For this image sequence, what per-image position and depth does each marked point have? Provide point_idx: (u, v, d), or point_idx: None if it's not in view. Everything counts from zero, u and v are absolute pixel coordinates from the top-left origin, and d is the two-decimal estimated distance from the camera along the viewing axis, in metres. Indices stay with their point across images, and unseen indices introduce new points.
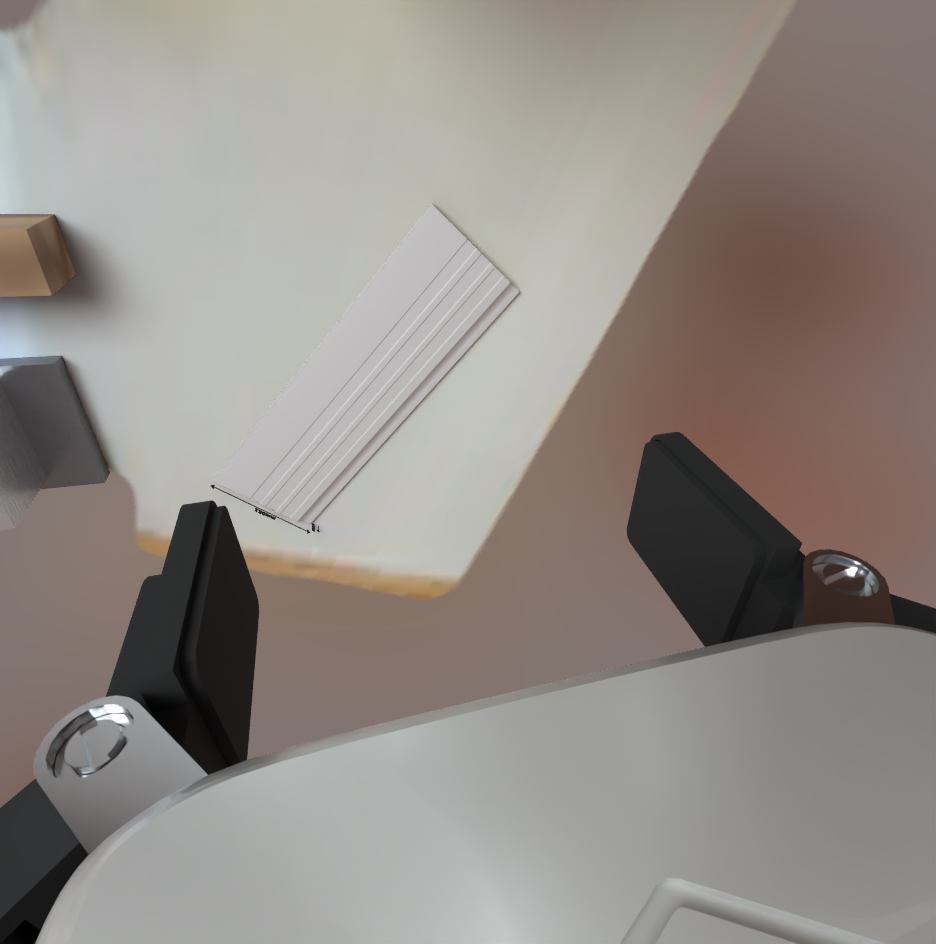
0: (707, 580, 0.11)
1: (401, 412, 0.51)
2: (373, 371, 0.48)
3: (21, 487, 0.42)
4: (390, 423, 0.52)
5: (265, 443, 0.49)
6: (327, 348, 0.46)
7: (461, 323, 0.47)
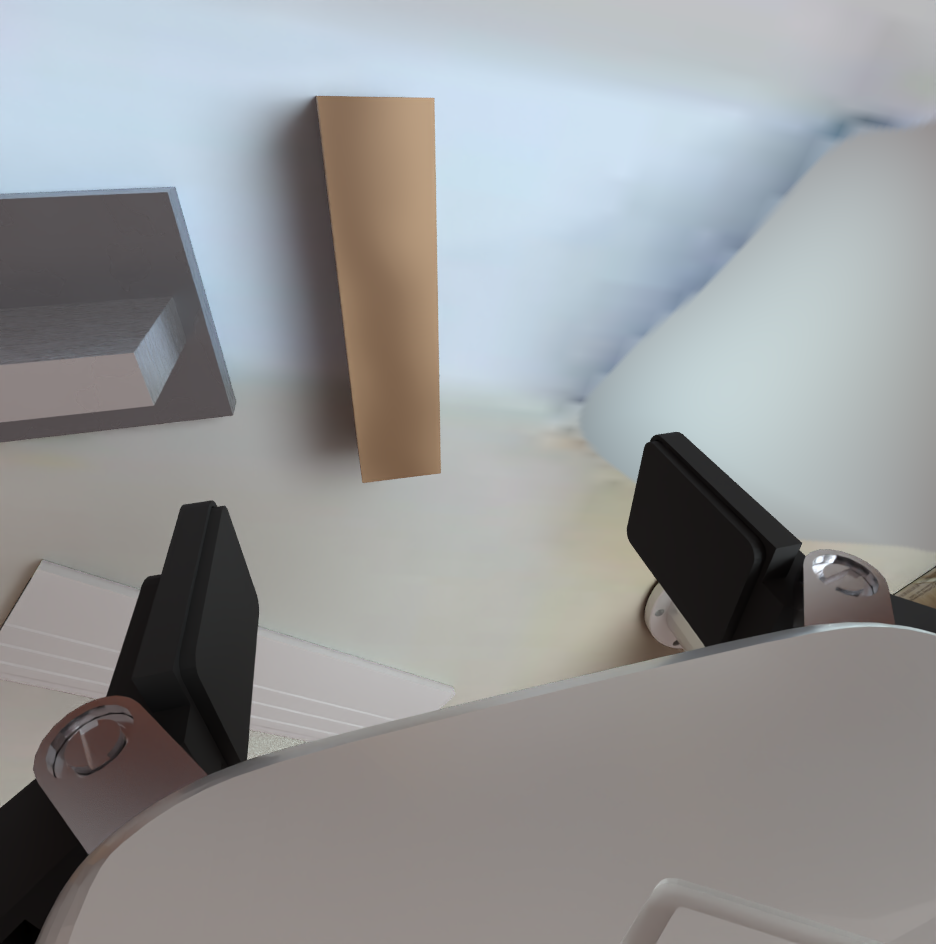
0: (707, 580, 0.11)
1: None
2: (279, 692, 0.41)
3: None
4: None
5: None
6: (302, 655, 0.39)
7: None
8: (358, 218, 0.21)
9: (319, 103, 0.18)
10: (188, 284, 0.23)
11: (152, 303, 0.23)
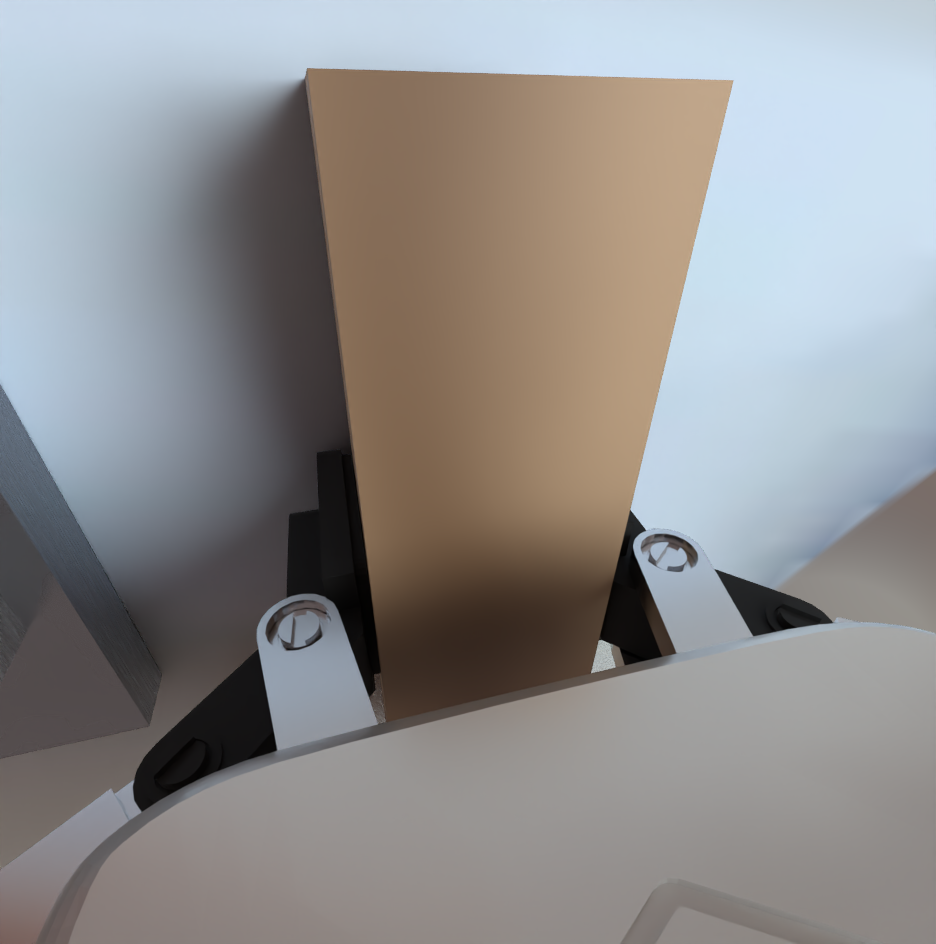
0: None
1: None
2: None
3: None
4: None
5: None
6: None
7: None
8: (436, 448, 0.07)
9: (317, 99, 0.05)
10: (11, 535, 0.10)
11: None
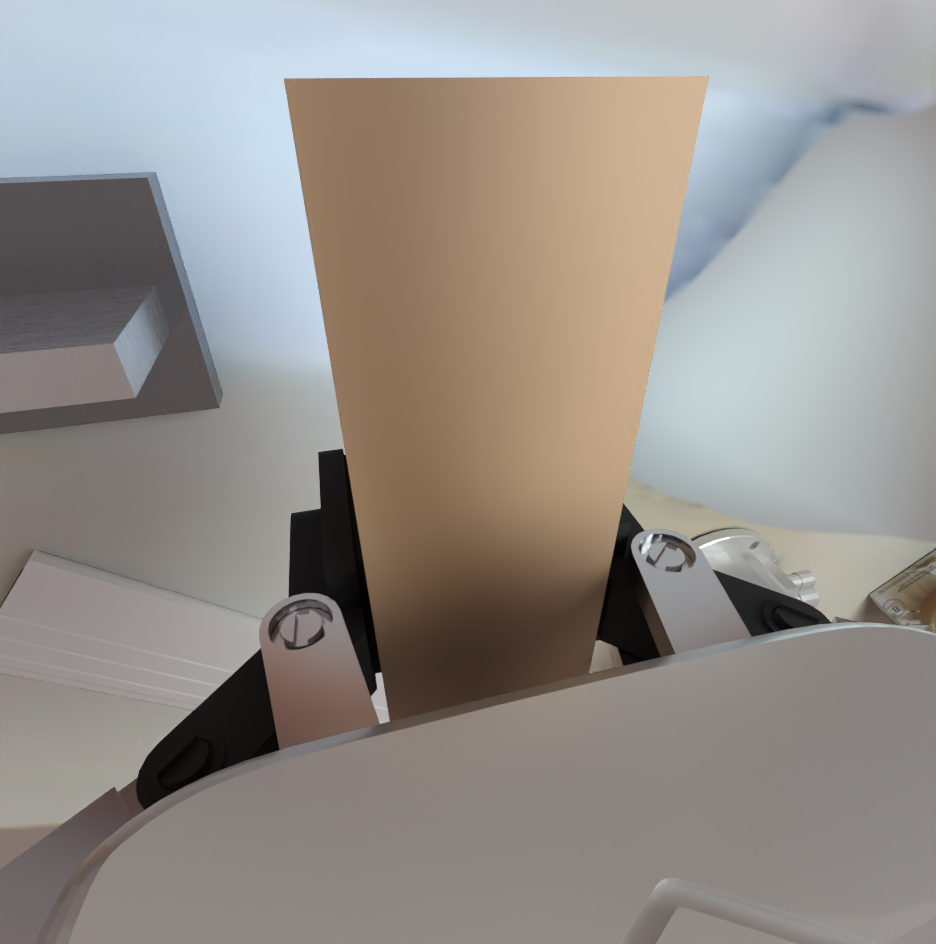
0: None
1: None
2: None
3: None
4: None
5: (134, 610, 0.33)
6: None
7: None
8: (426, 446, 0.07)
9: (295, 108, 0.05)
10: (171, 273, 0.23)
11: (133, 292, 0.22)
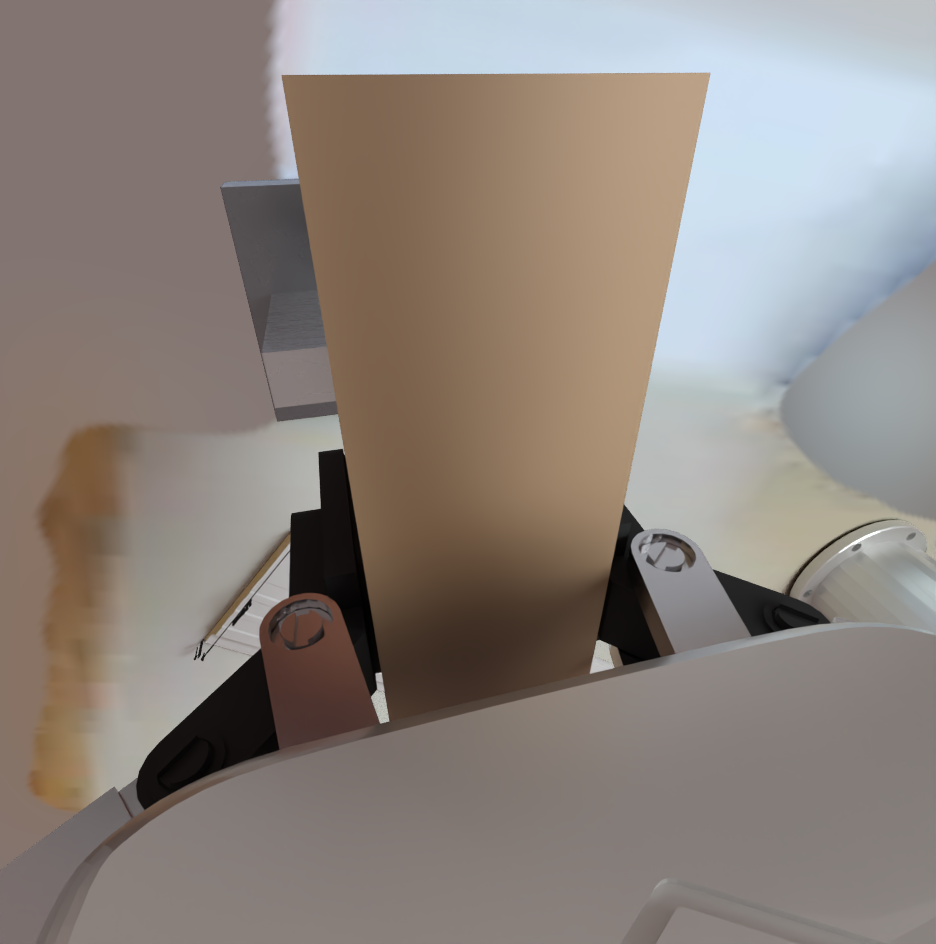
0: None
1: None
2: None
3: None
4: None
5: None
6: None
7: None
8: (426, 446, 0.07)
9: (293, 105, 0.05)
10: None
11: None
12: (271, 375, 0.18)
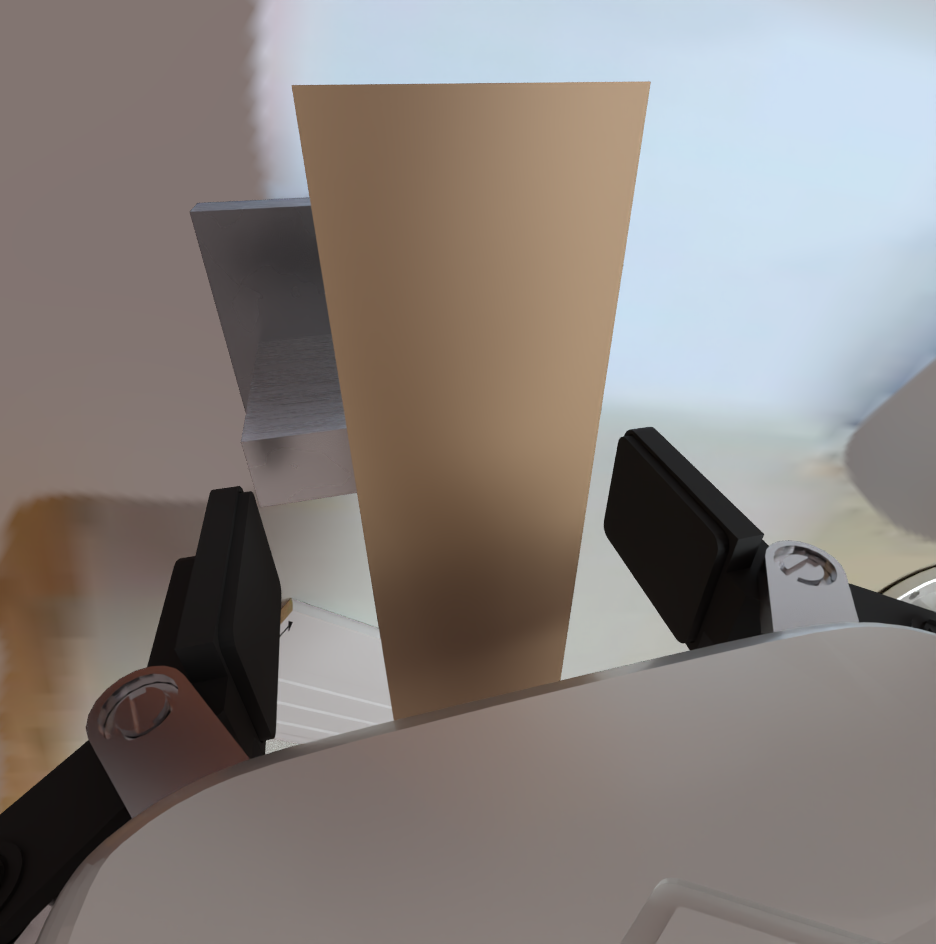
0: (675, 572, 0.11)
1: None
2: None
3: None
4: None
5: (375, 661, 0.30)
6: None
7: None
8: (414, 406, 0.08)
9: (300, 109, 0.06)
10: None
11: None
12: (254, 468, 0.13)
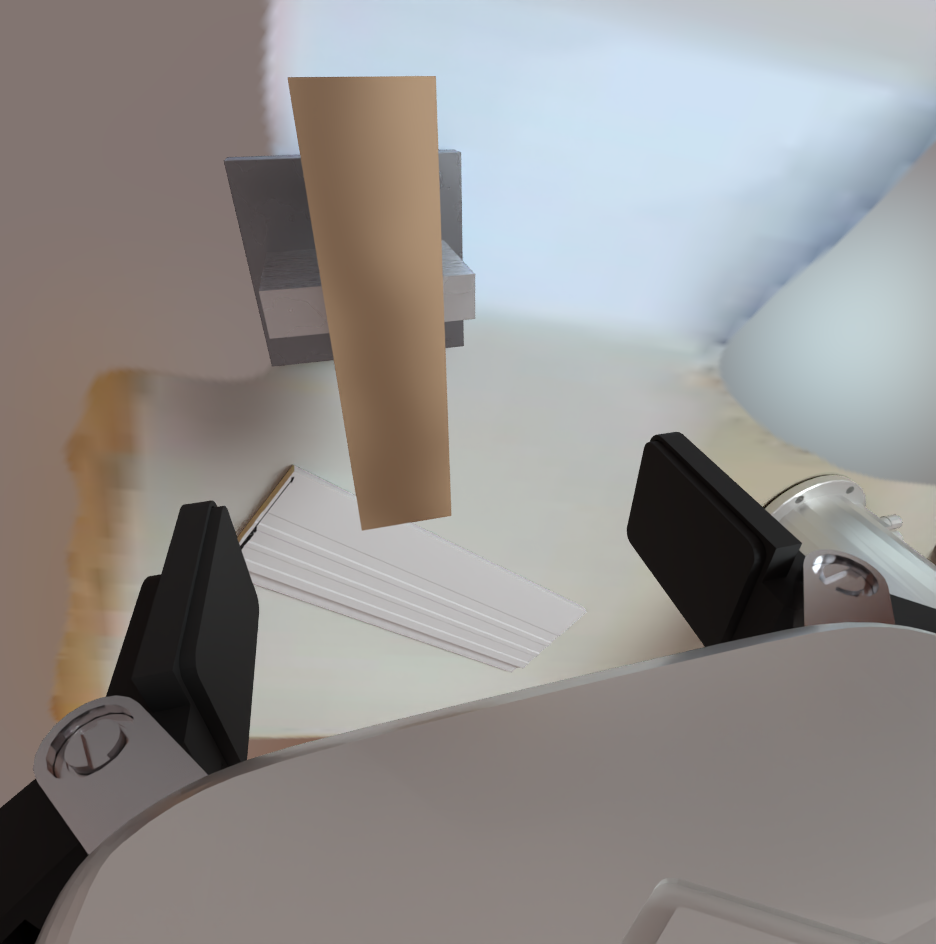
0: (707, 580, 0.11)
1: (395, 626, 0.47)
2: (448, 601, 0.46)
3: None
4: (382, 620, 0.46)
5: (358, 523, 0.39)
6: (475, 565, 0.44)
7: (491, 649, 0.51)
8: (345, 228, 0.17)
9: (291, 86, 0.15)
10: (457, 230, 0.29)
11: None
12: (266, 310, 0.22)
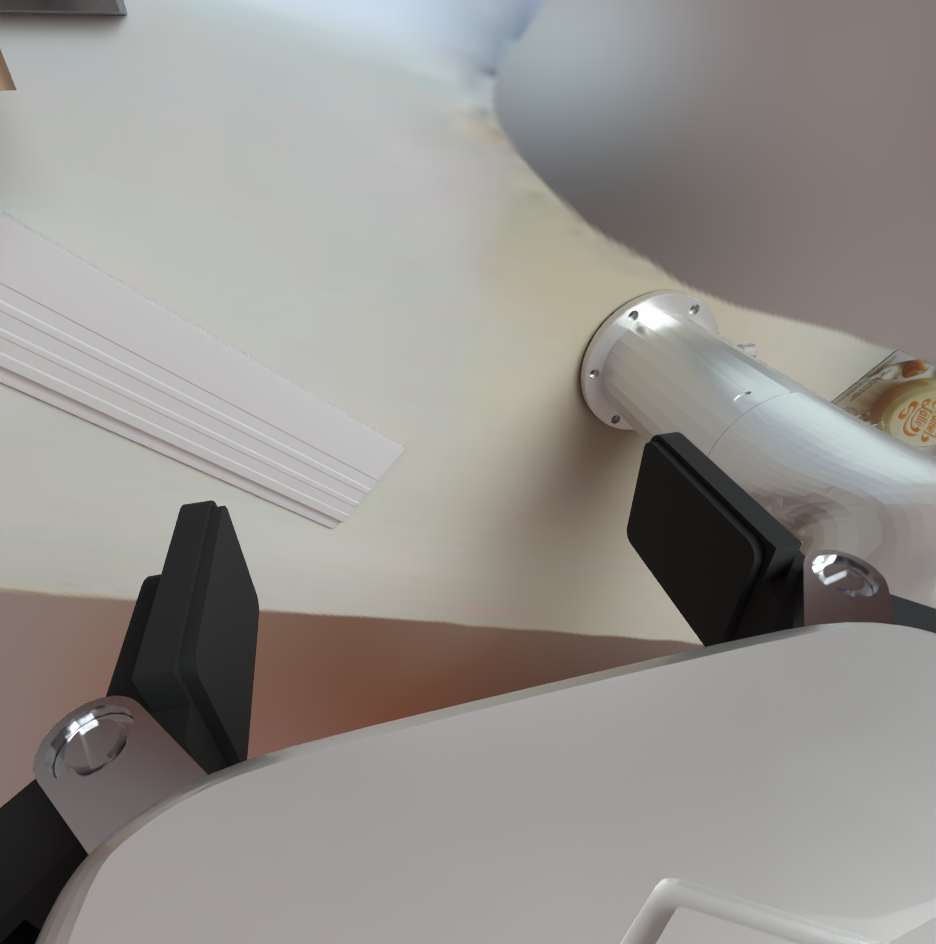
0: (707, 580, 0.11)
1: (165, 446, 0.41)
2: (220, 413, 0.40)
3: None
4: (144, 435, 0.40)
5: (65, 281, 0.33)
6: (242, 364, 0.38)
7: (295, 490, 0.45)
8: None
9: None
10: None
11: None
12: None
